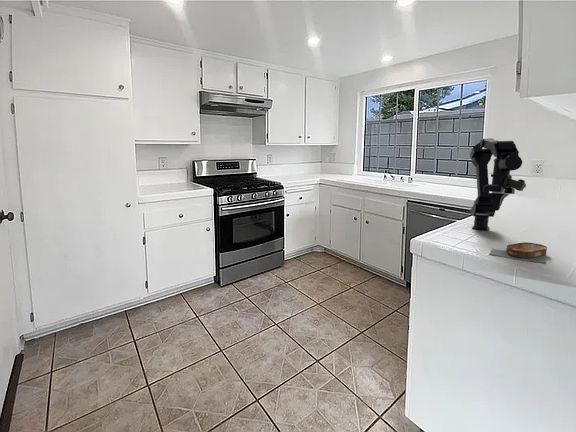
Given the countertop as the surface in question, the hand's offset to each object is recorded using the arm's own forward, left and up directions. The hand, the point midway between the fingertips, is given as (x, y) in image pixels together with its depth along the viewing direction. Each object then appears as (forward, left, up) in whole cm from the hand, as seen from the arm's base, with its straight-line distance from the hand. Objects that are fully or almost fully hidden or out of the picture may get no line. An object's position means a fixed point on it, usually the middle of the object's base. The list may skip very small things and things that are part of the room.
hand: (496, 210), depth 133 cm
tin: (+13, +8, -11) cm, 19 cm away
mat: (+18, +9, -12) cm, 24 cm away
